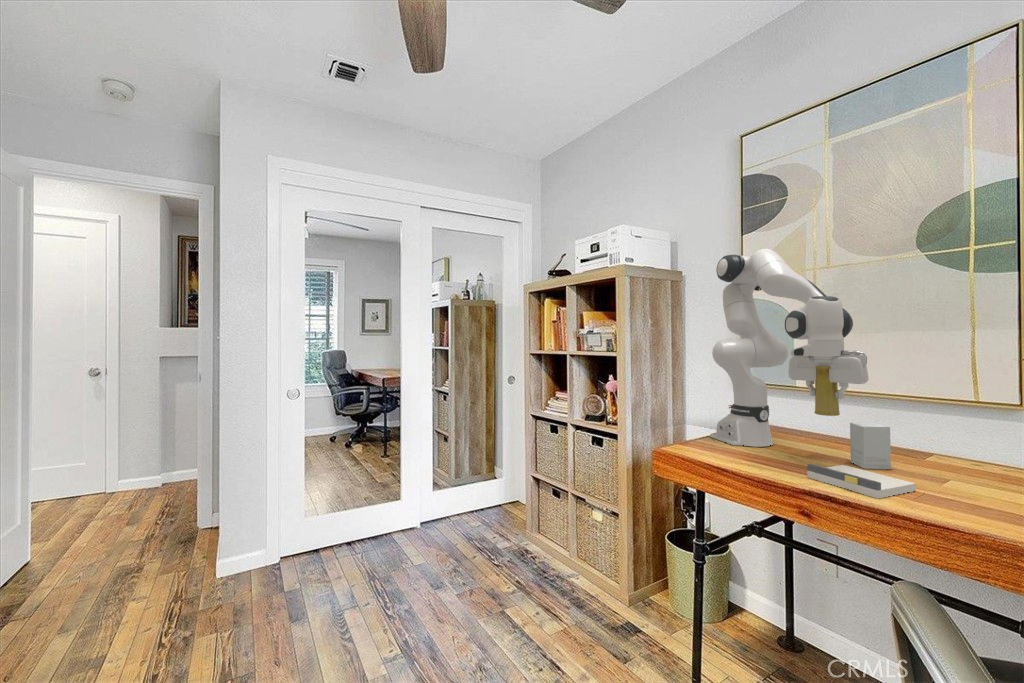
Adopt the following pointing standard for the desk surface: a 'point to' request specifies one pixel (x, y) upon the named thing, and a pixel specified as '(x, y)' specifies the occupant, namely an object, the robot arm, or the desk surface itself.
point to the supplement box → (870, 445)
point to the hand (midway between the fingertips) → (826, 397)
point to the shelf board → (860, 480)
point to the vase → (825, 393)
